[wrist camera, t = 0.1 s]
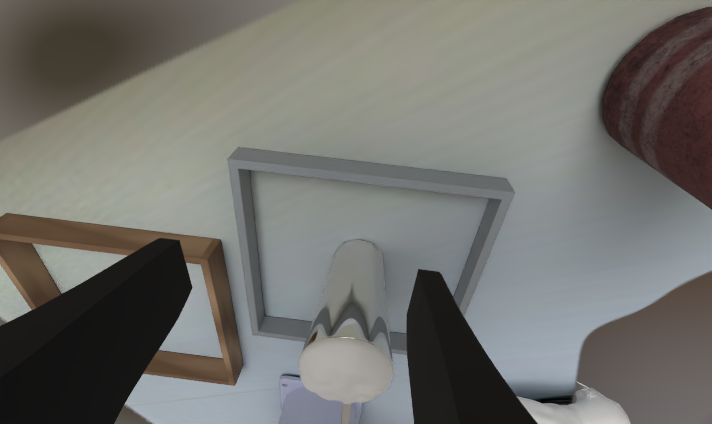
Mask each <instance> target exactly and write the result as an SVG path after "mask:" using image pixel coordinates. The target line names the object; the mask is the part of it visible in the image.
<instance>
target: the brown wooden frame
mask: <svg viewBox="0 0 712 424" xmlns="http://www.w3.org/2000/svg"><path fill="white" fill-rule="evenodd" d="M158 238H167V239H175V240H180V244H181V247H182V251H183V255H184V258H185V262H186V263H194V264H201V266H202V271H203V275H204V279H205V283H206V288H207V292H208V296H209V300H210V305H211V309H212V313H213V317H214V321H215V326H216V330H217V334H218V338H219V343H220V347H221V351H222V355H223V359H219V358H212V357H204V356H196V355H189V354H181V353H174V352H166V351H157V353H156V354H155V356H154V357H153V359H152V360H151V362H150V364H149V365H148V367H147V368H146V370H145V371H144V373H143V374H150V375H158V376H165V377H173V378H180V379H188V380H195V381H203V382H210V383H218V384H225V385H233V386H235V385H236V382H237V380H238V377H239V375H240V372H241V369H242V367H243V360H242V355H241V349H240V344H239V338H238V333H237V327H236V321H235V316H234V310H233V305H232V299H231V294H230V288H229V283H228V277H227V272H226V266H225V261H224V255H223V250H222V244H221V240H219V239H211V238H203V237H195V236H187V235H178V234H170V233H162V232H154V231H146V230H138V229H130V228H122V227H114V226H105V225H97V224H89V223H81V222H73V221H65V220H57V219H49V218H40V217H32V216H24V215H16V214H8V213H6V214H4V215H3V216H1V217H0V265H1V266H2V267H3V269H4V270H5V272H6V273H7V275H8V276H9V278H10V279H11V280H12V282H13V283H14V285H15V286H16V288H17V289H18V290H19V292H20V293H21V295H22V296H23V298H24V299H25V301H26V302H27V303H28V305H29V306H30V308H31V309H32V310H34V309H35V308H37V307H39V306H41V305H43V304H45V303H46V302H48V301H50V300H52V299H54V298H56V297H57V296H59V295H61V293H60V291H59V290H58V288H57V286H56V285H55V283H54V281H53V280H52V278H51V276H50V275H49V273H48V271H47V270H46V268H45V266H44V265H43V263H42V261H41V259H40V258H39V256H38V254H37V253H36V251H35V249H34V248H33V246H32V244H31V243H34V244H42V245H50V246H58V247H66V248H74V249H82V250H90V251H98V252H106V253H114V254H122V255H130V254H132V253H134V252H135V251H137V250H139V249H140V248H142V247H144V246H146V245H147V244H149V243H151V242H153V241H155V240H156V239H158Z"/></svg>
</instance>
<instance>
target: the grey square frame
mask: <svg viewBox="0 0 712 424" xmlns="http://www.w3.org/2000/svg"><path fill="white" fill-rule="evenodd" d="M228 166H229V173H230V180H231V187H232V194H233V201H234V208H235V215H236V222H237V229H238V236H239V243H240V250H241V257H242V264H243V271H244V279H245V286H246V293H247V300H248V307H249V314H250V321H251V328H252V335H257V336H265V337H272V338H280V339H288V340H295V341H303V342H306V339H307V336H308V334H309V331H310V328H311V325H312V322H309V321H301V320H293V319H285V318H277V317H270V316H264V307H263V297H262V288H261V278H260V268H259V259H258V249H257V240H256V230H255V220H254V211H253V201H252V192H251V182H250V172H249V170H255V171H264V172H272V173H281V174H289V175H298V176H306V177H315V178H323V179H332V180H340V181H349V182H357V183H365V184H374V185H382V186H391V187H399V188H408V189H416V190H425V191H433V192H442V193H450V194H459V195H467V196H475V197H484V198H490V199H489V202H488V205H487V208H486V210H485V213H484V216H483V218H482V221H481V224H480V227H479V229H478V232H477V235H476V238H475V240H474V243H473V246H472V248H471V251H470V254H469V257H468V259H467V262H466V265H465V268H464V270H463V273H462V276H461V278H460V281H459V284H458V287H457V289H456V292H455V295H454V297H453V298H454V300H455V302H456V304H457V305H458V307H459V309H460V311H461V313H462V314H463V316H464V315H465V312H466V310H467V308H468V305H469V303H470V300H471V298H472V295H473V293H474V291H475V288H476V286H477V283H478V281H479V278H480V276H481V274H482V271H483V269H484V266H485V264H486V261H487V259H488V257H489V254H490V252H491V249H492V247H493V244H494V242H495V240H496V237H497V235H498V232H499V230H500V227H501V225H502V223H503V220H504V218H505V215H506V213H507V210H508V208H509V206H510V203H511V201H512V198H513V196H514V193H515V192H514V190H513V189H512V187H511V185H510V184H509V182H508V180H507V179H505V178H497V177H488V176H480V175H471V174H463V173H454V172H445V171H437V170H428V169H420V168H411V167H403V166H394V165H385V164H377V163H368V162H360V161H351V160H343V159H334V158H326V157H317V156H308V155H300V154H291V153H283V152H274V151H266V150H257V149H248V148H240V147H238V148H237V149H236V150H235V151H234V152H233V153H232V155H231V156H230V157H229V158H228ZM389 333H390V342H391V351H392V353H396V354H404V355H407V334H402V333H395V332H389Z"/></svg>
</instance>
